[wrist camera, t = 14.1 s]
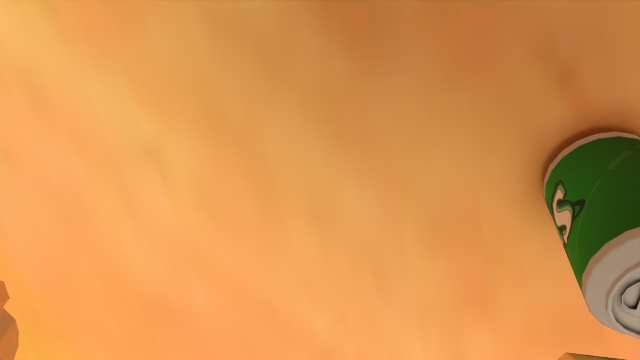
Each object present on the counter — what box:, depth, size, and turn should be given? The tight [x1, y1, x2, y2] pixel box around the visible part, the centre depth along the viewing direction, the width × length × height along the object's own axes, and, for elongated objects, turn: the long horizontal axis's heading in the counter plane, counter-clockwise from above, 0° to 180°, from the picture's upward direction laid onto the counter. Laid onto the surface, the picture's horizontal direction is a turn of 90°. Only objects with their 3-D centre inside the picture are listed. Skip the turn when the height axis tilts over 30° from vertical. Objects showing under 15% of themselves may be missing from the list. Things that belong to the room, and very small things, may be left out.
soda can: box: [543, 131, 640, 338], centre depth 35 cm, size 8×8×12 cm
